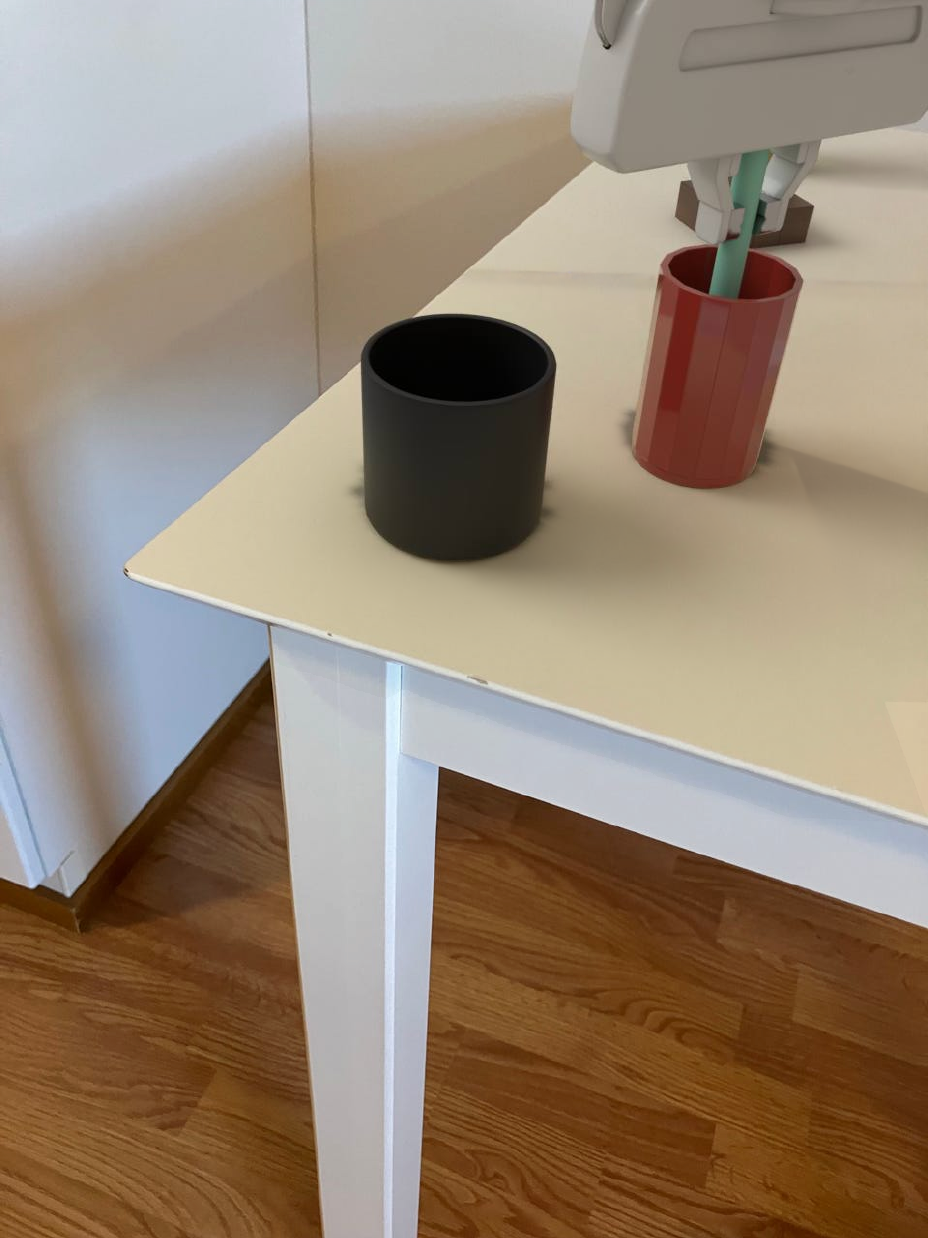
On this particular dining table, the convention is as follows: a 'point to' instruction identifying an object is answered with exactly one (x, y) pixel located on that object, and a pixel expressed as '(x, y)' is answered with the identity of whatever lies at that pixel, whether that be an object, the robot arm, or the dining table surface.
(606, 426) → the dining table surface
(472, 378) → the mug
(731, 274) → the straw
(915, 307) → the dining table surface
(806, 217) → the holder
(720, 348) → the cup
